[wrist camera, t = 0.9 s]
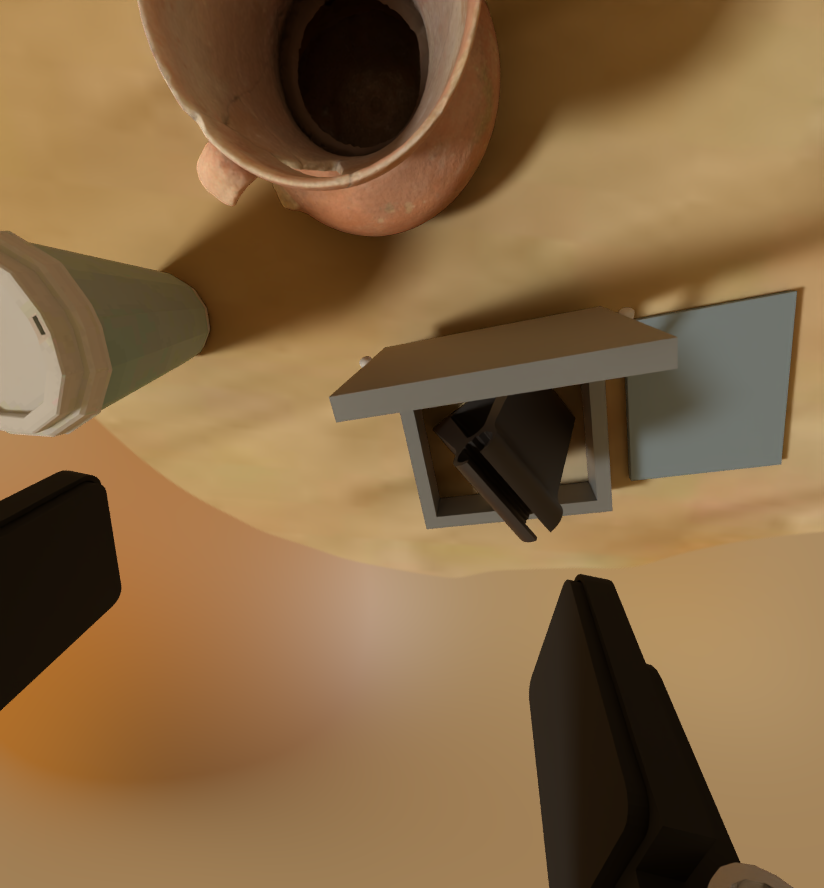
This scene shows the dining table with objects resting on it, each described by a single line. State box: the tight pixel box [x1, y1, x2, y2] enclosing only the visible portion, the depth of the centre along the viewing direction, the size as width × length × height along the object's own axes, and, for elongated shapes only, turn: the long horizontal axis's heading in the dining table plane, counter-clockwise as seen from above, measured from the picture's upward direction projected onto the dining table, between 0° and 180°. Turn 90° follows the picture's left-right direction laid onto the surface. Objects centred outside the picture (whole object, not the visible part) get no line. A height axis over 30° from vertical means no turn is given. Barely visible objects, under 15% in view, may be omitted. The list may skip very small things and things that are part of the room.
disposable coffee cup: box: [0, 231, 210, 437], centre depth 28 cm, size 11×11×15 cm
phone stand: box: [433, 388, 575, 542], centre depth 29 cm, size 9×6×12 cm, turn 131°
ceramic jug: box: [137, 0, 500, 236], centre depth 21 cm, size 18×14×14 cm
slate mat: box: [625, 291, 797, 481], centre depth 31 cm, size 10×12×1 cm
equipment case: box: [329, 306, 678, 529], centre depth 27 cm, size 16×15×15 cm
